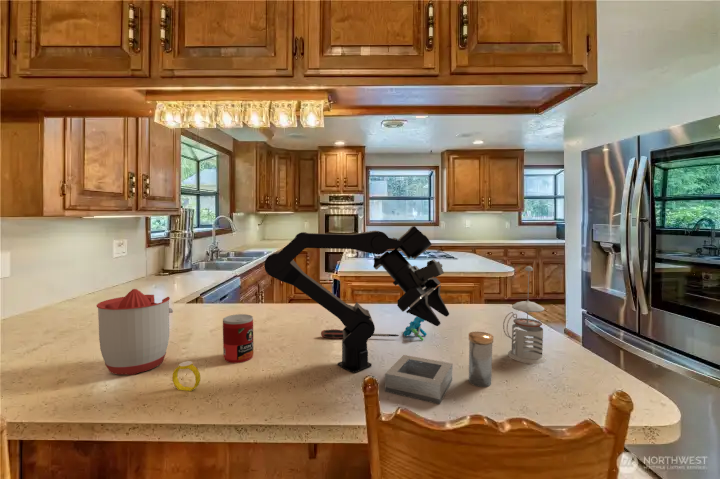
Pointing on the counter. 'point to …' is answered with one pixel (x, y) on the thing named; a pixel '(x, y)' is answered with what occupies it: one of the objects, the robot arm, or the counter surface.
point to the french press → (526, 333)
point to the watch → (184, 366)
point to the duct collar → (419, 378)
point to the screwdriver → (339, 334)
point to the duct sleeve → (480, 358)
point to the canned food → (238, 338)
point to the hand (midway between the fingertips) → (443, 320)
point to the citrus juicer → (133, 332)
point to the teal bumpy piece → (415, 328)
